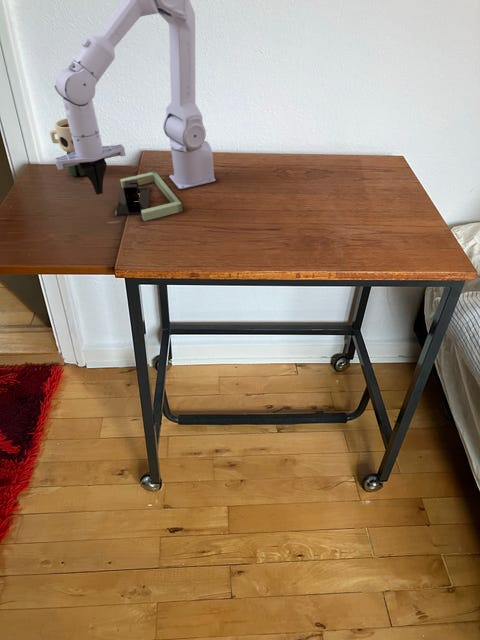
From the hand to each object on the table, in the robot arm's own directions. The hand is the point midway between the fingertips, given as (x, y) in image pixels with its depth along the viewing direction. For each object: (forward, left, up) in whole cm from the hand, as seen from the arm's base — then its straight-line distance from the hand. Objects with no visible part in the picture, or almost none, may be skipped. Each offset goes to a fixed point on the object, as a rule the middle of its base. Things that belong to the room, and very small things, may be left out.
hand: (98, 192), depth 119 cm
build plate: (-7, 0, -5) cm, 9 cm away
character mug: (0, -22, -5) cm, 23 cm away
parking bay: (-11, 0, -4) cm, 12 cm away
